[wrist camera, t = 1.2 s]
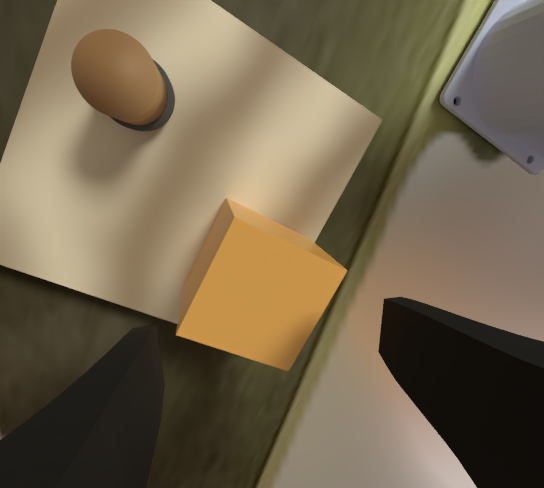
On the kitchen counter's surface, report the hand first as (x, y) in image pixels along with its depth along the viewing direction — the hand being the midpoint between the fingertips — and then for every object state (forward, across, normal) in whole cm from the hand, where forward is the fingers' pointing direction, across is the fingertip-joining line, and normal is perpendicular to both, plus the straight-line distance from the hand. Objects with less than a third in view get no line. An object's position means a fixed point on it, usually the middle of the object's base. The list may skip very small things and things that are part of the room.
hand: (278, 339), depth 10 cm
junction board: (+9, +3, -4) cm, 11 cm away
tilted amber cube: (+8, 0, 0) cm, 8 cm away
